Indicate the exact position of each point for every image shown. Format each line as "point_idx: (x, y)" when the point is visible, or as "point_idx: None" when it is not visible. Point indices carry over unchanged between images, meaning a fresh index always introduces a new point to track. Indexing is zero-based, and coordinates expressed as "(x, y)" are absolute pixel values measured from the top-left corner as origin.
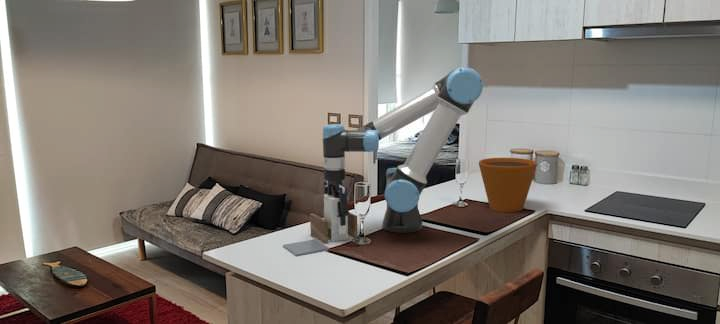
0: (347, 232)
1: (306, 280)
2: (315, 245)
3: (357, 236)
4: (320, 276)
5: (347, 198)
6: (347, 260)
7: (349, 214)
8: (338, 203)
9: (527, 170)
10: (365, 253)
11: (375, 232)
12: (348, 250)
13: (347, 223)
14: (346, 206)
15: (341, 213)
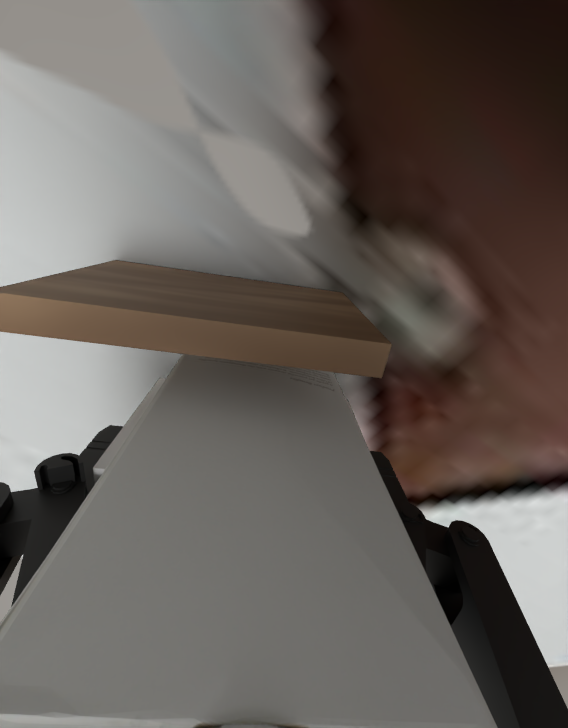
0: (337, 381)
1: (538, 639)
2: None
3: (343, 295)
4: (554, 612)
5: (490, 719)
6: (543, 508)
7: (272, 363)
8: None
9: None
10: (562, 418)
11: (338, 85)
12: (463, 448)
13: (353, 416)
14: (518, 645)
15: (436, 590)
